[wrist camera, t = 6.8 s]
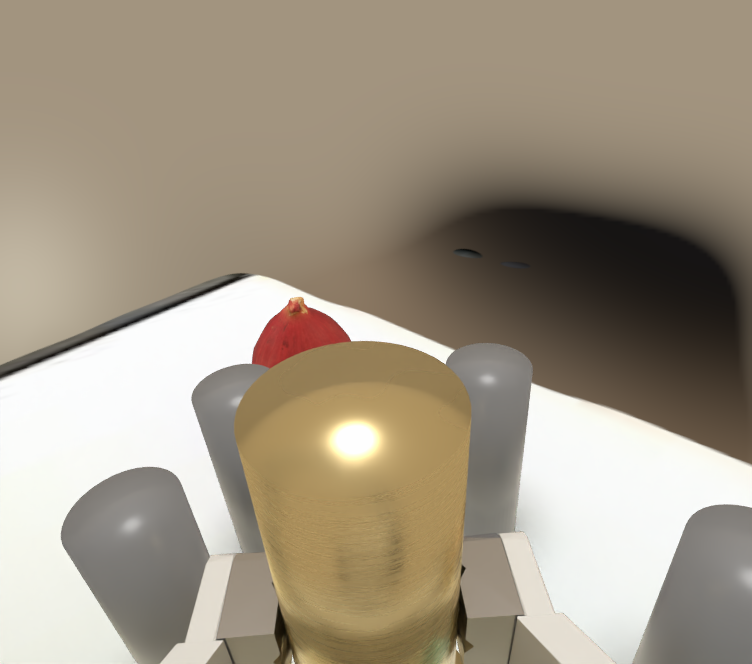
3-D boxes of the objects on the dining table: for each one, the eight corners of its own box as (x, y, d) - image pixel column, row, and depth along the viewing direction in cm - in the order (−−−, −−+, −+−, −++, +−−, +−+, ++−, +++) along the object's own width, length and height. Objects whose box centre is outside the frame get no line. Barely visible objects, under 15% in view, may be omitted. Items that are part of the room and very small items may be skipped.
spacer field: (115, 859, 14) (-50, 713, 9) (209, 526, 23) (151, 372, 19) (748, 799, 14) (899, 625, 9) (586, 492, 23) (622, 330, 19)
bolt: (271, 914, 10) (70, 606, 4) (293, 651, 15) (208, 322, 9) (515, 892, 11) (635, 562, 5) (465, 637, 15) (493, 303, 9)
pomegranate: (245, 422, 30) (213, 305, 25) (313, 375, 33) (294, 265, 29) (313, 464, 26) (289, 337, 22) (380, 406, 30) (370, 288, 26)
